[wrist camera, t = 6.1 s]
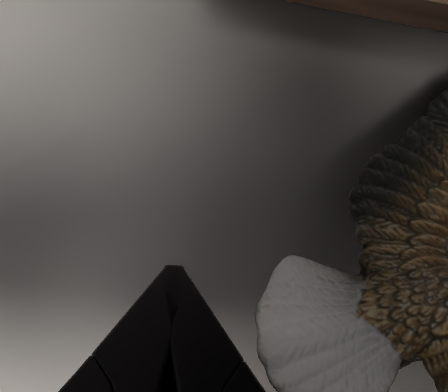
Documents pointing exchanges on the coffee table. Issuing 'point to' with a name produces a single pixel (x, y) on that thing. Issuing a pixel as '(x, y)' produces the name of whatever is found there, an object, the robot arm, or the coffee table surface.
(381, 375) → the eagle figurine
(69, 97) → the coffee table surface
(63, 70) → the coffee table surface
